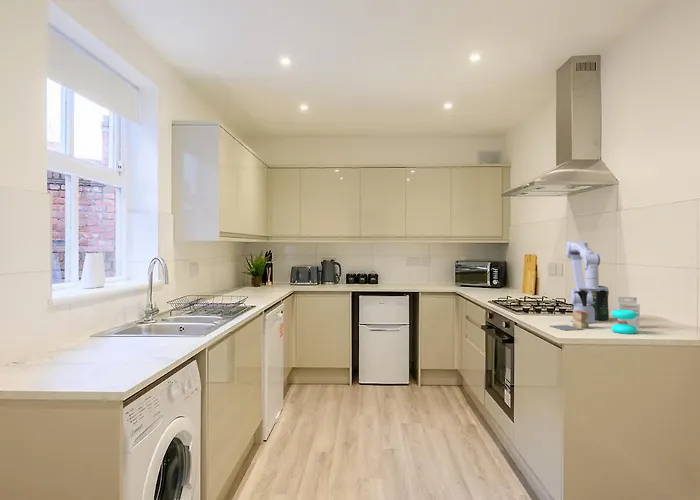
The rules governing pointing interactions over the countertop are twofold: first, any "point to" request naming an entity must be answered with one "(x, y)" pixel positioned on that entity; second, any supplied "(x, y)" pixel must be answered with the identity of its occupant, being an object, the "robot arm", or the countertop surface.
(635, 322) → the ink cartridge box
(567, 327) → the rubber mat
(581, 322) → the oak block
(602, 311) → the coffee jar
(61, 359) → the countertop surface
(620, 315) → the donuts
